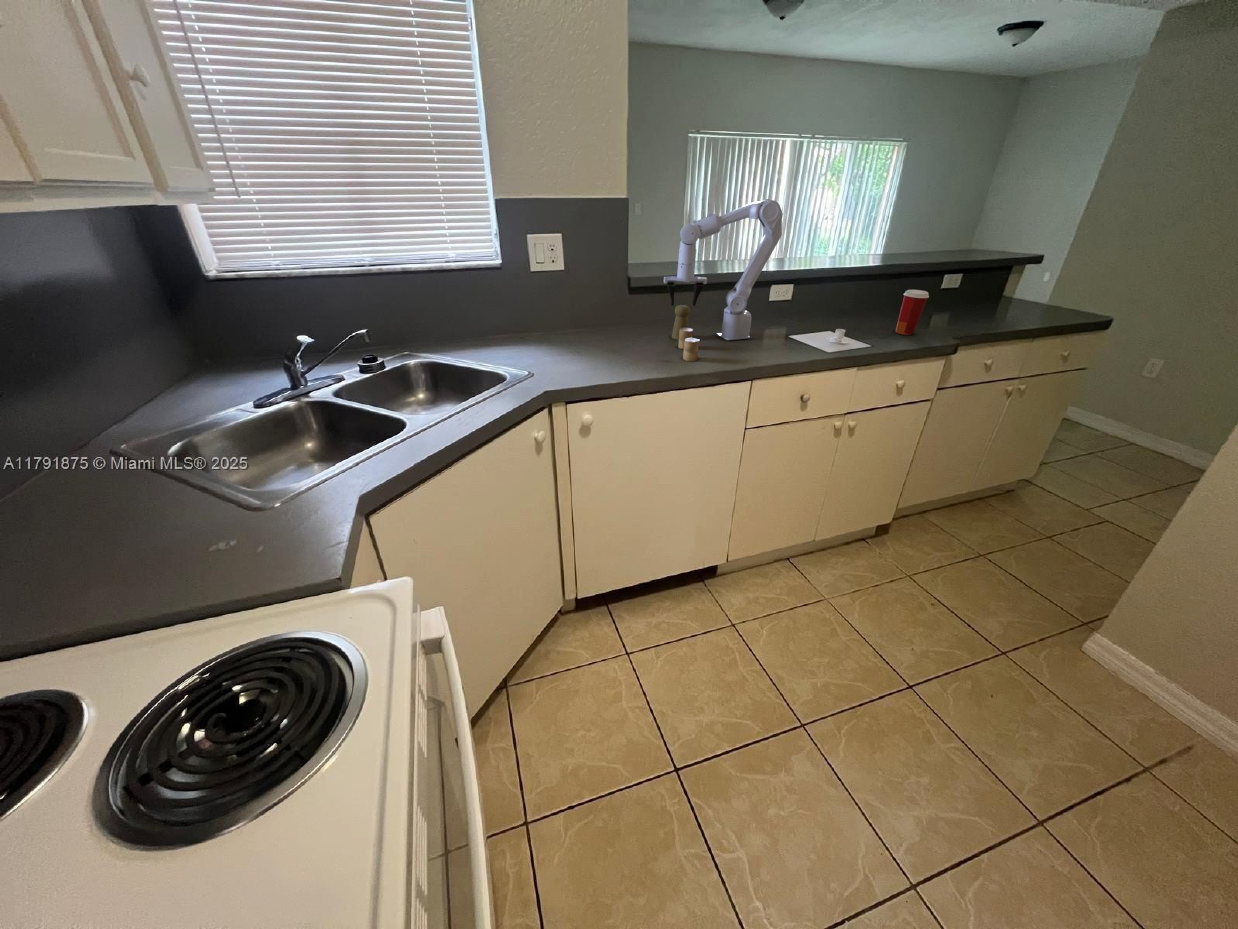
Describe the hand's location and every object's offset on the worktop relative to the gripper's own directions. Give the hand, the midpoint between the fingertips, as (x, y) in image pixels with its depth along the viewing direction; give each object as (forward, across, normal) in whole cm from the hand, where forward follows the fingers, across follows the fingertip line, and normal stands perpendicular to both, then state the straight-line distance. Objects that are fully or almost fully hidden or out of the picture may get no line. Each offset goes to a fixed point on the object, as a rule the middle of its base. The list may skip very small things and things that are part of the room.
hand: (683, 305), depth 170 cm
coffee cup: (+11, -86, -6) cm, 87 cm away
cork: (+11, +1, +4) cm, 11 cm away
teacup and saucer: (+11, -52, +6) cm, 54 cm away
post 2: (+10, +1, +27) cm, 29 cm away
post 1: (+10, +1, +15) cm, 19 cm away
